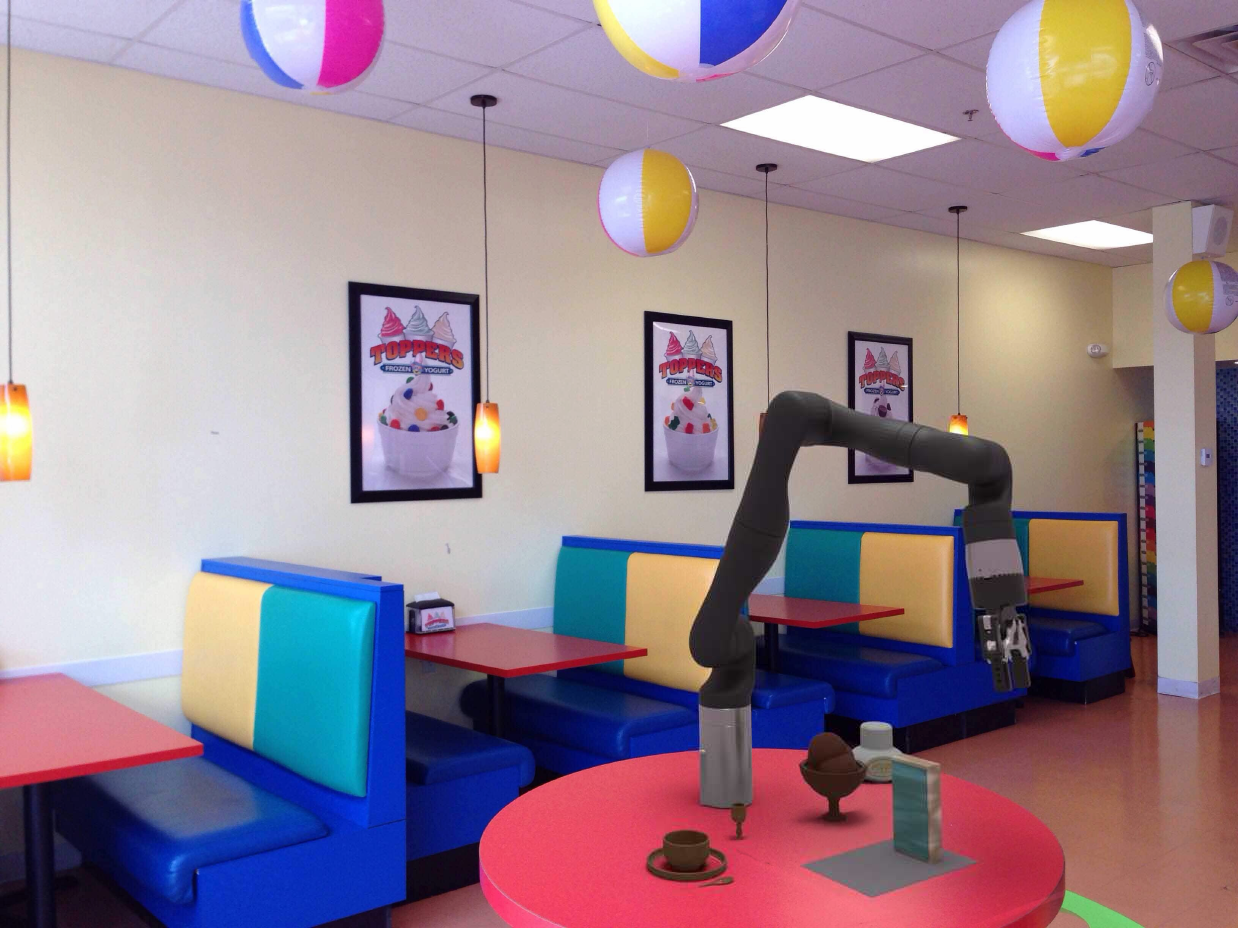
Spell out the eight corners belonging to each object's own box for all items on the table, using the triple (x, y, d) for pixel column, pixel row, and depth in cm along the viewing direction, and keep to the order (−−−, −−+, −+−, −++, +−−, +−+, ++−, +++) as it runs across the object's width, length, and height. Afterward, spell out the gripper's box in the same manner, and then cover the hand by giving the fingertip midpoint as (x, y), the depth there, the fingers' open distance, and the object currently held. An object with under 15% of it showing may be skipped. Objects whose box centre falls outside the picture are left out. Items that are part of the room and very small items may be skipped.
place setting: (626, 855, 158) (625, 817, 158) (741, 836, 165) (740, 799, 165) (674, 898, 142) (673, 855, 142) (799, 874, 149) (798, 833, 149)
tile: (928, 863, 149) (926, 767, 149) (892, 849, 154) (890, 756, 155) (942, 859, 150) (940, 763, 150) (905, 845, 156) (903, 753, 156)
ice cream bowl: (870, 834, 163) (867, 740, 164) (799, 831, 166) (797, 738, 166) (867, 813, 174) (865, 724, 174) (801, 810, 176) (799, 722, 176)
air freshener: (899, 770, 198) (898, 719, 199) (912, 783, 190) (911, 729, 190) (843, 772, 198) (842, 720, 198) (854, 784, 190) (853, 730, 190)
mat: (871, 903, 137) (871, 897, 137) (800, 870, 149) (800, 864, 149) (979, 866, 149) (978, 861, 149) (904, 839, 161) (904, 834, 161)
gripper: (985, 578, 155) (1002, 687, 151) (952, 575, 143) (969, 694, 140) (1036, 572, 150) (1055, 684, 147) (1006, 569, 139) (1025, 691, 136)
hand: (1013, 689), depth 143 cm, fingers open, 8 cm apart
